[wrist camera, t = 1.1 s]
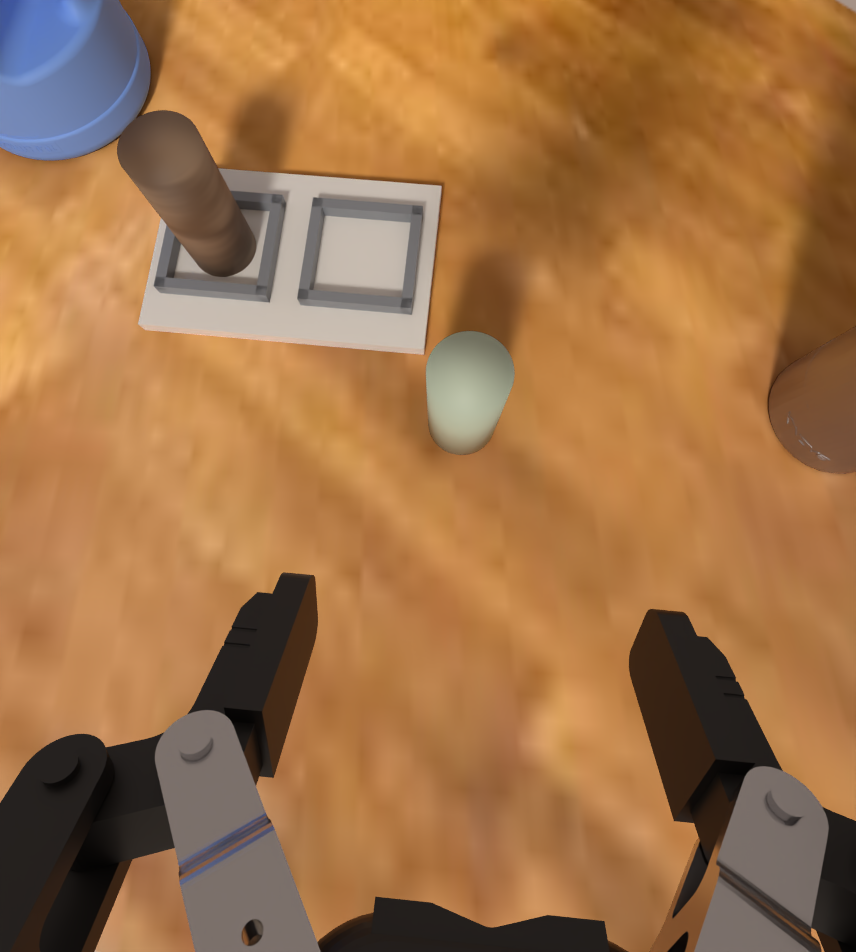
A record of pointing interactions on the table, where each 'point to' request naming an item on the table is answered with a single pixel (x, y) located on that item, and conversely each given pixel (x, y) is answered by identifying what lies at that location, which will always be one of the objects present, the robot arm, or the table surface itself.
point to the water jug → (68, 76)
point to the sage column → (467, 390)
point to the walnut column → (187, 190)
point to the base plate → (309, 266)
